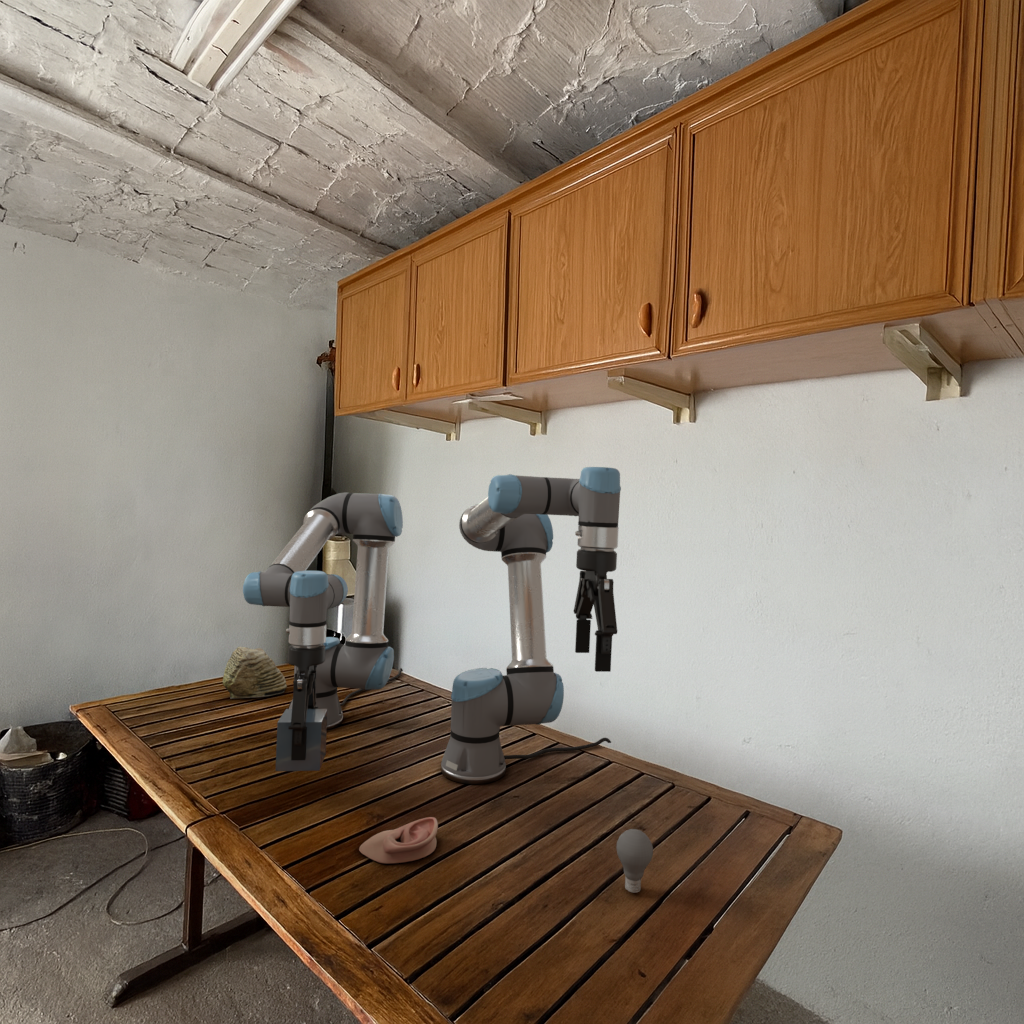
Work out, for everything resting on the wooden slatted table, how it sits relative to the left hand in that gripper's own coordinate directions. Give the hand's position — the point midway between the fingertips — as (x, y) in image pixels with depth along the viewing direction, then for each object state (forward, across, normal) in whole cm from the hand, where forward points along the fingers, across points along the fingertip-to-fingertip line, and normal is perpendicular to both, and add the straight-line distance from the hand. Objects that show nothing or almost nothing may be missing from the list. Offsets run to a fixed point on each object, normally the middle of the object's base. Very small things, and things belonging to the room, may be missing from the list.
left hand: (302, 750), depth 134 cm
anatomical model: (+9, +22, +21) cm, 32 cm away
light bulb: (+10, +38, +60) cm, 72 cm away
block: (+3, 0, 0) cm, 3 cm away
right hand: (-25, +22, +56) cm, 65 cm away
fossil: (+9, -68, -26) cm, 74 cm away
